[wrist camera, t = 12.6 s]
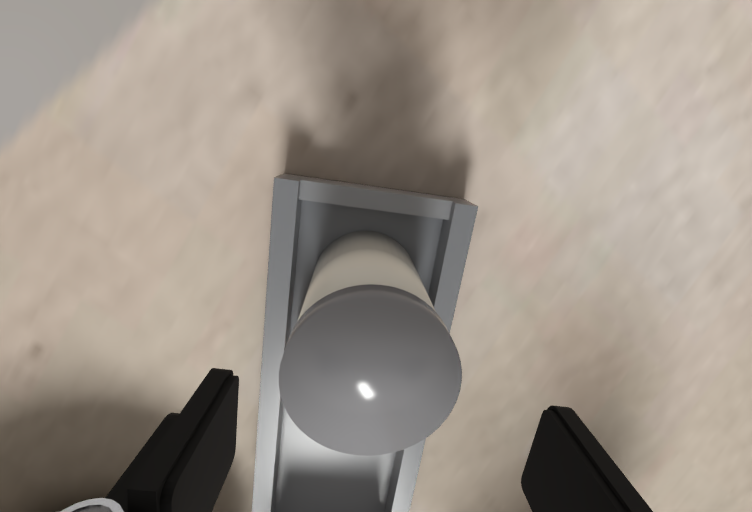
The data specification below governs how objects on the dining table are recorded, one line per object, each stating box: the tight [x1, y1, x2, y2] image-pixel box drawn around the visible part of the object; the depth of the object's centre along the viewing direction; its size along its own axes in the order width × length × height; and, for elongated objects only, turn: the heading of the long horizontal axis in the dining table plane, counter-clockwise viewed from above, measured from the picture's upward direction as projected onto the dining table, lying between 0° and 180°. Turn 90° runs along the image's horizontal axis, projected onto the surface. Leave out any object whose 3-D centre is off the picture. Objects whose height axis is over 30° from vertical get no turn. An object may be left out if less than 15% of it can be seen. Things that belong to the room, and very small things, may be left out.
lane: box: [252, 174, 478, 512], centre depth 22 cm, size 10×26×7 cm, turn 172°
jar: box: [279, 231, 462, 456], centre depth 17 cm, size 6×6×10 cm
